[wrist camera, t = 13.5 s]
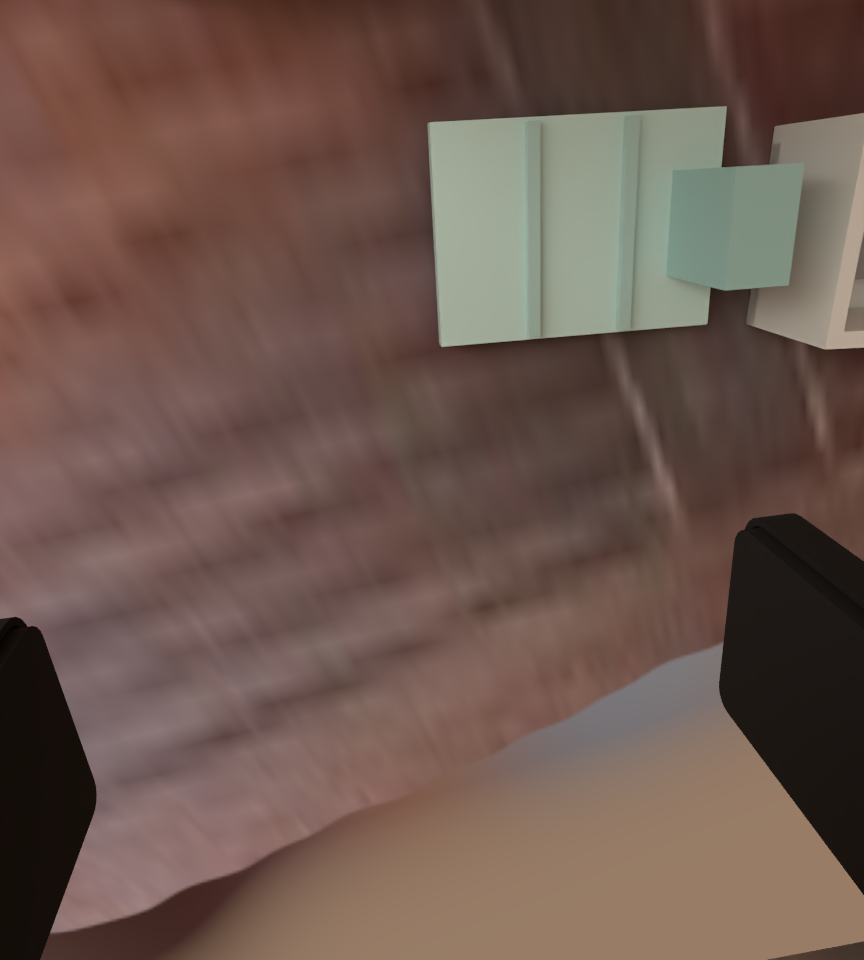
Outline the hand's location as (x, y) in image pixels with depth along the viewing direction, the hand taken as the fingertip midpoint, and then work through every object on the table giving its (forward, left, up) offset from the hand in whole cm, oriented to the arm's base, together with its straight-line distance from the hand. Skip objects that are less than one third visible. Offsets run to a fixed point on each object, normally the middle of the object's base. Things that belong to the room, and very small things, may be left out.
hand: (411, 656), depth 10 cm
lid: (-4, +12, -30) cm, 32 cm away
